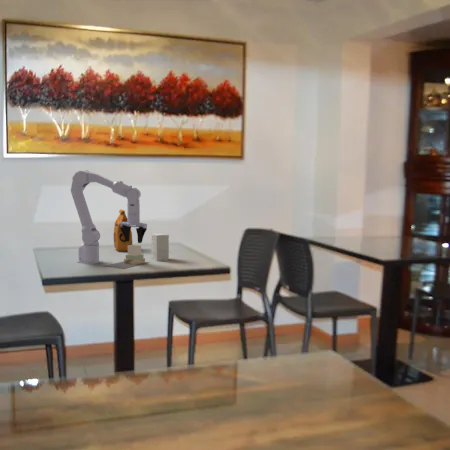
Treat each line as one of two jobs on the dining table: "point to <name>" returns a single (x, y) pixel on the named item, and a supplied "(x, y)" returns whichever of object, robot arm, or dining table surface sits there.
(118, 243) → the coffee package
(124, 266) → the rubber mat
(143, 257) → the sage top slab
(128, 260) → the maple base slab
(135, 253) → the offwhite cube
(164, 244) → the small box
